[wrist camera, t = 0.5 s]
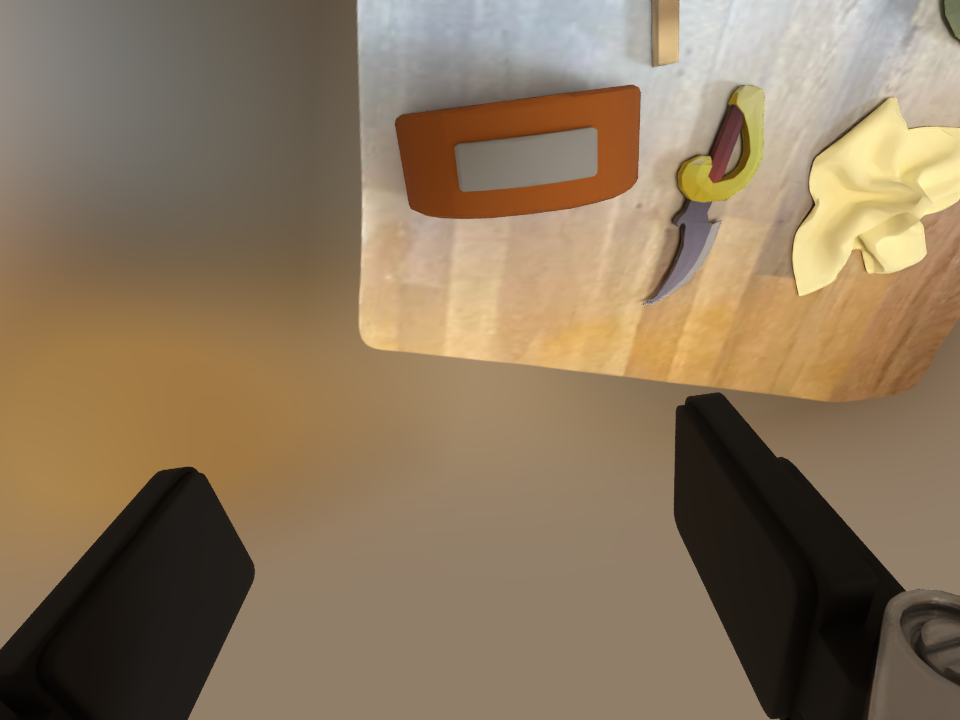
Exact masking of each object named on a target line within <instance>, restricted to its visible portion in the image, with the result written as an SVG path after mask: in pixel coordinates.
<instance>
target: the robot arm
mask: <svg viewBox="0 0 960 720" xmlns="http://www.w3.org/2000/svg"><path fill="white" fill-rule="evenodd" d="M675 433H676V435H675V478H674V517H675V522H676V525H677V528H678V531H679V533H680V535H681V537H682V539H683V542H684V544H685V546H686V548H687V550H688V552H689V554H690V556H691V558H692V561H693V563H694V565H695V567H696V569H697V571H698V573H699V575H700V577H701V579H702V581H703V584H704V586H705V587H706V590H707V592H708V594H709V596H710V599H711V601H712V603H713V605H714V607H715V609H716V611H717V613H718V615H719V617H720V620H721V622H722V624H723V626H724V628H725V630H726V632H727V635H728V637H729V638H730V641H731V643H732V645H733V647H734V649H735V651H736V654H737V656H738V657H739V659H740V662H741V664H742V666H743V668H744V670H745V672H746V675H747V677H748V679H749V681H750V683H751V685H752V687H753V689H754V692H755V693H756V696H757V698H758V700H759V702H760V704H761V706H762V708H763V710H764V711H765V713H766V714H767V716H768V717H769V718H770V719H778V718H779V719H780V720H960V596H959V595H955V594H951V593H947V592H944V591H937V590H925V589H916V590H911V591H905V589H904V588H903V587H902V586H901V585H900V584H899V583H898V582H897V580H896V579H895V578H894V577H893V576H892V575H891V574H890V573H889V571H888V570H887V569H886V568H885V567H884V566H883V565H882V564H881V562H880V561H879V560H878V559H877V558H876V557H875V556H874V554H873V553H872V552H871V551H870V550H869V549H868V548H867V547H866V545H865V544H864V543H863V542H862V541H861V540H860V539H859V537H858V536H857V535H856V534H855V533H854V532H853V531H852V530H851V528H850V527H849V526H848V525H847V524H846V523H845V522H844V521H843V519H842V518H841V517H840V516H839V515H838V514H837V513H836V512H835V510H834V509H833V508H832V507H831V506H830V505H829V504H828V502H827V501H826V500H825V499H824V498H823V497H822V496H821V495H820V493H819V492H818V491H817V490H816V489H815V488H814V487H813V485H812V484H811V483H810V482H809V481H808V480H807V479H806V478H805V476H804V475H803V474H802V473H801V472H800V471H799V470H798V469H797V467H796V466H795V465H794V464H793V463H791V462H790V461H789V460H788V459H785V458H783V457H779V458H777V457H776V456H775V455H774V454H773V453H772V451H771V450H770V449H769V448H768V447H767V446H766V444H765V443H764V442H763V441H762V440H761V438H760V437H759V436H758V435H757V434H756V433H755V431H754V430H753V429H752V428H751V427H750V426H749V424H748V423H747V422H746V421H745V420H744V419H743V417H742V416H741V415H740V414H739V413H738V411H737V410H736V409H735V408H734V407H733V406H732V404H731V403H730V402H729V401H728V400H727V399H726V397H725V396H724V395H723V394H721V393H718V392H717V393H710V394H703V395H696V396H689V397H687V398H686V401H685V405H680V406H678V407H677V409H676V431H675ZM254 575H255V569H254V564H253V562H252V560H251V558H250V556H249V554H248V552H247V551H246V549H245V547H244V545H243V544H242V541H241V540H240V538H239V536H238V534H237V533H236V531H235V529H234V527H233V525H232V523H231V522H230V520H229V518H228V516H227V514H226V512H225V511H224V509H223V507H222V505H221V503H220V501H219V499H218V498H217V496H216V494H215V492H214V490H213V488H212V487H211V485H210V483H209V481H208V479H207V478H206V476H205V475H204V474H202V473H199V472H198V471H197V470H196V469H194V468H193V467H183V468H175V469H168V470H162V471H159V472H157V473H156V474H155V475H154V476H153V477H152V478H151V479H150V480H149V481H148V483H147V484H146V485H145V486H144V487H143V489H141V491H140V492H139V493H138V494H137V495H136V496H135V497H134V499H133V500H132V501H131V502H130V503H129V504H128V505H127V506H126V508H125V509H124V510H123V511H122V512H121V513H120V514H119V516H118V517H117V518H116V519H115V520H114V521H113V522H112V524H111V525H110V526H109V527H108V528H107V529H106V530H105V531H104V533H103V534H102V535H101V536H100V537H99V538H98V539H97V541H96V542H95V543H94V544H93V545H92V546H91V547H90V548H89V550H88V551H87V552H86V553H85V554H84V555H83V556H82V558H81V559H80V560H79V561H78V562H77V563H76V564H75V565H74V567H73V568H72V569H71V570H70V571H69V572H68V573H67V575H66V576H65V577H64V578H63V579H62V580H61V581H60V583H59V584H58V585H57V586H56V587H55V588H54V589H53V590H52V592H51V593H50V594H49V595H48V596H47V597H46V598H45V600H44V601H43V602H42V603H41V604H40V605H39V607H38V608H37V609H36V610H35V611H34V612H33V613H32V614H31V615H30V617H29V618H28V619H27V620H26V621H25V622H24V623H23V625H22V626H21V627H20V628H19V629H18V630H17V631H16V633H15V634H14V635H13V636H12V637H11V638H10V639H9V640H8V642H7V643H6V644H5V645H4V646H3V647H2V649H1V650H0V720H188V718H189V716H190V714H191V711H192V709H193V707H194V705H195V703H196V701H197V699H198V697H199V694H200V692H201V690H202V688H203V686H204V684H205V682H206V680H207V677H208V676H209V673H210V671H211V669H212V667H213V665H214V663H215V661H216V659H217V657H218V654H219V652H220V650H221V648H222V646H223V644H224V642H225V640H226V637H227V635H228V633H229V631H230V629H231V627H232V625H233V623H234V621H235V619H236V616H237V614H238V612H239V610H240V608H241V606H242V604H243V601H244V600H245V598H246V595H247V593H248V591H249V589H250V587H251V585H252V583H253V580H254Z"/></svg>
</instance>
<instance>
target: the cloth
mask: <svg viewBox="0 0 960 720" xmlns="http://www.w3.org/2000/svg"><path fill="white" fill-rule="evenodd" d="M809 188H810V193H811V195H812V197H813V200H814V202H815V206H814V208H813V209H812V211H811V212H810V214H809V215H808V216H807V218H806V219H805V221H804V222H803V223H802V224H801V226H800V227H799V229H798V231H797V233H796V235H795V239H794V243H793V251H792V264H793V271H794V276H795V280H796V285H797V290H798V295H799V296H803V295H806V294H808V293H811V292H813V291H816V290H818V289H820V288H822V287H824V286H826V285H828V284H830V283H831V282H833V281H834V280H835V279H836V277H837V276H836V275H837V274H838V272H839V271H840V270H841V269H842V268H843V266H844V265H845V264H846V262H847V260H848V258H849V256H850V253H851V251H852V250H855V249H860V250H861V251H862V257H863V260H864V264H865V269H866V270H867V272H868V273H870V274H872V273H881V274H888V273H892V272H897V271H899V270H902V269H904V268H906V267H909V266H911V265H913V264H916V263H918V262H919V261H921V260H922V259H923V258H924V256H925V255H926V254H927V250H926V244H925V235H924V227H923V225H922V223H921V222H920V219H921V218H922V217H923V216H924V215H925V214H931V213H935V212H938V211H941V210H944V209H946V208H948V207H950V206H951V205H953V204H954V203H956V202H957V201H958V200H959V199H960V128H957V127H919V128H913V129H908V127H907V124H906V122H905V121H904V119H903V118H902V116H901V115H900V111H899V107H898V101H897V99H896V98H893V97H890V98H888V99H887V100H886V101H885V102H884V103H883V104H882V105H881V106H879V107H878V108H877V109H876V110H875V111H873V112H872V113H871V114H870V115H869V116H867V117H866V118H865V119H864V120H862V121H861V122H860V123H859V124H858V125H856V126H855V127H854V128H853V129H852V130H851V131H850V132H848V133H847V134H846V135H845V136H844V137H842V138H841V139H840V140H838V141H837V142H836V143H834V144H833V145H832V146H830V147H829V148H828V149H826V150H825V151H824V152H822V153H821V154H820V155H819V156H817V157H816V158H815V160H814V162H813V166H812V170H811V173H810V178H809Z"/></svg>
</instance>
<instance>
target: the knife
mask: <svg viewBox="0 0 960 720" xmlns="http://www.w3.org/2000/svg"><path fill="white" fill-rule="evenodd" d="M728 104H729V106H730V109H729V111H728V113H727V116H726V118H725V121H724V123H723V126H722V128H721V130H720V133H719V135H718V138H717V140H716V143H715V145H714V147H713V150H712V152H711V155H710V156H703V155H699V156H697V157H695V158H693V159H691V160H688V161H686V162H684V163H683V165H682V167H681V169H680V171H679V173H678V185H679V189H680V190H681V191H682V192H683V194H684V195H685V196H686V197H687V198H688V201H687V203H686V206H685V208H684V210H683V211H682V212H681V213H680V214H678V215H677V216H676V217H675V218H674V220H673V223H674V224H675V225H676V226H677V227H679V228H680V225H681V230H682V235H681V246H680V249H679V252H678V254H677V257H676V260H675V262H674V265H673V267H672V270H671V271H670V273H669V275H668V277H667V278H666V280H665V282H664V284H663V285H662V287H661V288H660V290H659V291H658V293H657V294H656V296H654V297H653V298H652V299H651V300H649V301H647V302H645V303H643V304H641V305H651V304H654V303H656V302H658V301H660V300H662V299H664V298H665V297H667V296H668V295H670V294H672V293H673V292H675V291H676V290H677V289H679V288H680V287H682V286H683V285H684V284H686V283H687V282H688V281H689V280H690V279H691V278H692V277H693V275H694V274H695V273H696V272H697V271H698V269H699V268H700V267H701V266H702V264H703V262H704V261H705V259H706V257H707V256H708V254H709V252H710V250H711V249H712V246H713V244H714V241H715V238H716V235H717V233H718V230H719V227H720V224H721V222H722V220H721V221H718V222H715V223H712V224H711V222H710V221H709V220H708V214H707V212H708V210H709V208H710V205H711V203H712V201H721V200H726V199H728V198H729V197H731V196H732V195H734V194H736V193H737V192H739V191H740V190H742V189H743V188H744V187H745V186H746V185H747V184H748V183H749V181H750V180H751V179H752V177H753V176H754V174H755V172H756V171H757V169H758V167H759V165H760V162H761V160H762V154H763V145H764V136H763V118H764V105H765V95H764V93H763V90H762V88H760V87H757V86H753V85H747V86H740V87H739V88H738V89H737V90H736V91H735V92H734V93H733V95H732V97H731V99H730V101H729V102H728ZM740 130H741V131H742V136H743V155H742V157H741V160H740V162H739V165H738V166H737V167H736V169H735V170H734V171H733V172H731V173H729V174H728V175H726V176H723V174H724V172H725V169H726V166H727V164H728V161H729V159H730V156H731V153H732V151H733V148H734V146H735V143H736V141H737V138H738V135H739V133H740Z"/></svg>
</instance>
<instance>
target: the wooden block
mask: <svg viewBox="0 0 960 720" xmlns="http://www.w3.org/2000/svg"><path fill="white" fill-rule="evenodd" d="M678 61H679V0H652V66H653V67H655V66H660V65H666V64H671V63H675V62H678Z"/></svg>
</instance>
